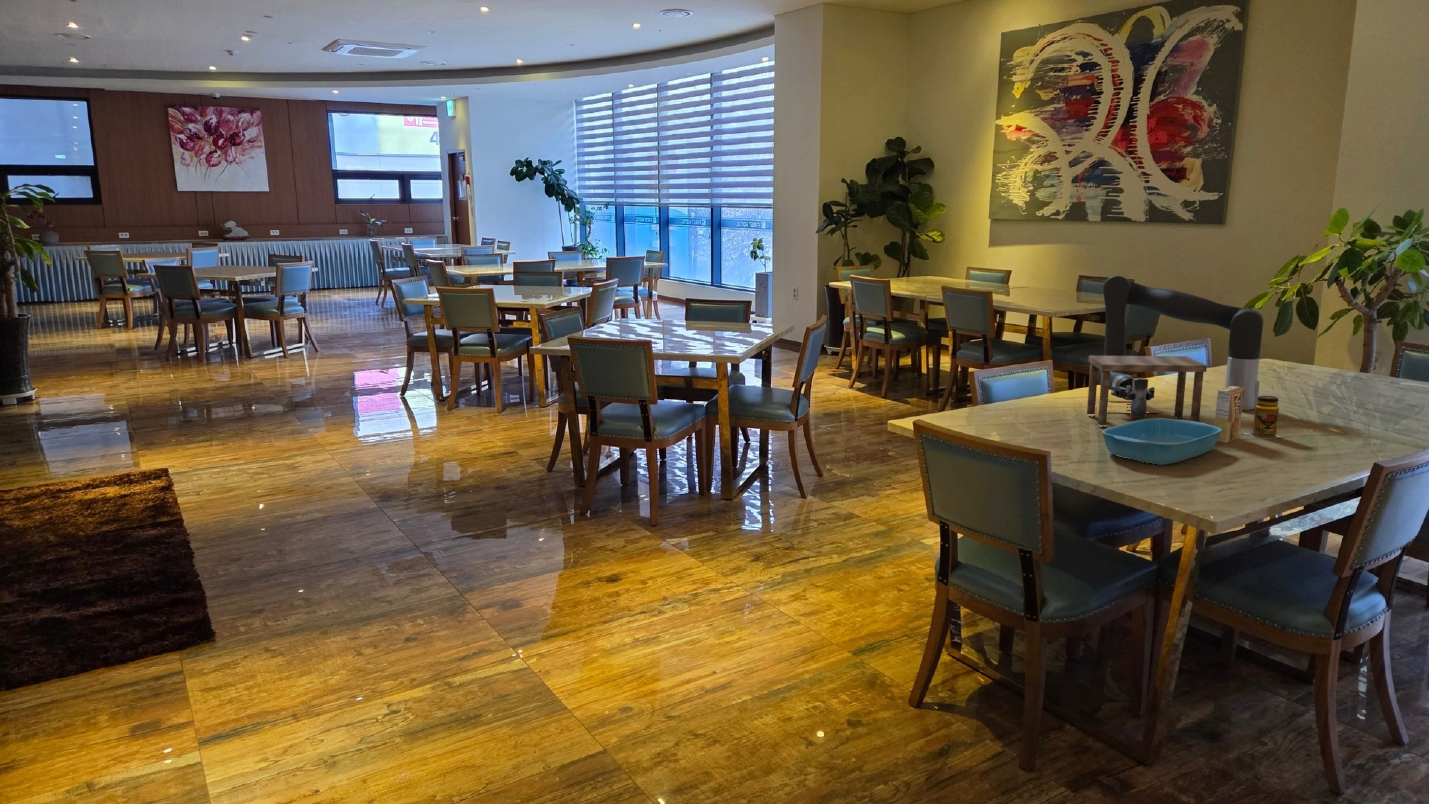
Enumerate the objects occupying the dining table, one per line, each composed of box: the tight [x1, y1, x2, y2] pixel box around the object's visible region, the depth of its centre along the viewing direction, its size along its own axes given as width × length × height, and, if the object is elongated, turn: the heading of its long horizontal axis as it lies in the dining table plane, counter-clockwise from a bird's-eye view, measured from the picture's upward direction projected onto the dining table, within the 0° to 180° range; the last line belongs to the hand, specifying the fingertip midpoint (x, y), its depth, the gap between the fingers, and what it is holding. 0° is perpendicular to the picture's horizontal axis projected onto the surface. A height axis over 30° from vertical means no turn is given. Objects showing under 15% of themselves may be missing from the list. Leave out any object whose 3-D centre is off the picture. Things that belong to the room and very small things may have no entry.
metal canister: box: [1129, 377, 1149, 418], centre depth 295 cm, size 4×4×12 cm
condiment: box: [1241, 395, 1282, 440], centre depth 272 cm, size 7×8×12 cm
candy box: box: [1213, 386, 1245, 444], centre depth 268 cm, size 9×4×15 cm, turn 129°
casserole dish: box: [1101, 417, 1222, 466], centre depth 256 cm, size 37×22×7 cm, turn 127°
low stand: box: [1086, 355, 1208, 426], centre depth 290 cm, size 30×18×20 cm, turn 81°
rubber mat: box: [1127, 403, 1159, 414], centre depth 313 cm, size 18×16×1 cm
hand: (1140, 397), depth 293 cm, fingers closed on metal canister, 4 cm apart
